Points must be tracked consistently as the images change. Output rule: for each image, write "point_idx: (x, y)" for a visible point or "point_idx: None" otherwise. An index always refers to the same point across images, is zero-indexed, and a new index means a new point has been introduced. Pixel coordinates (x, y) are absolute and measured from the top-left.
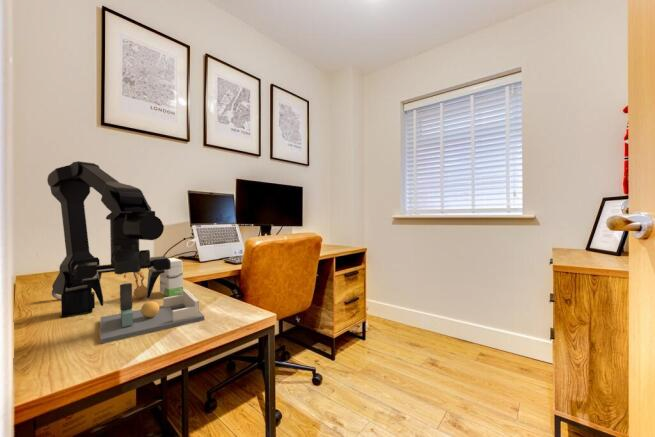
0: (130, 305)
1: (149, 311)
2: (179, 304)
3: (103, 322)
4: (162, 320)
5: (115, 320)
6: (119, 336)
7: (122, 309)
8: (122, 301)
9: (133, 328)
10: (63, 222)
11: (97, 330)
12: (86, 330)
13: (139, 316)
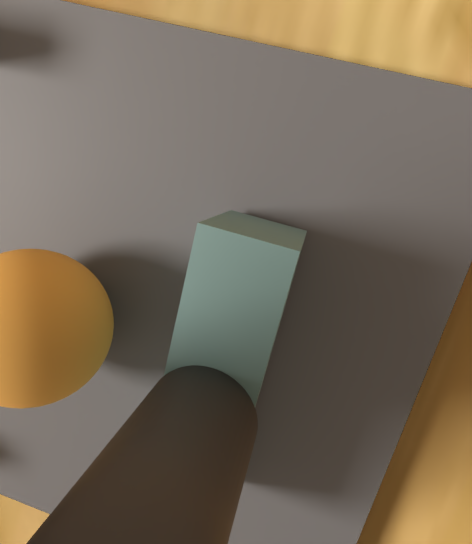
0: (161, 387)
1: (54, 259)
2: None
3: (353, 496)
4: (33, 134)
5: (279, 459)
6: (386, 76)
7: (246, 401)
8: (223, 461)
9: (252, 141)
10: None
11: (409, 434)
12: (457, 501)
13: (129, 390)
